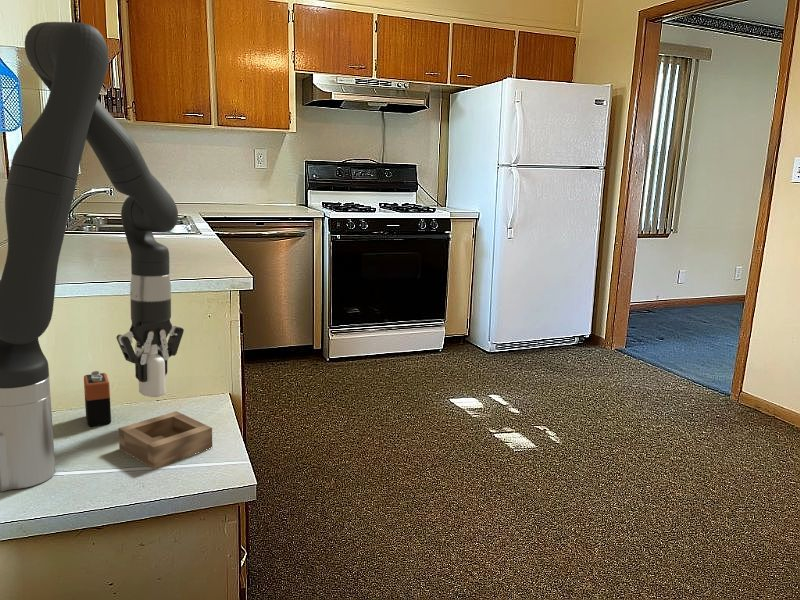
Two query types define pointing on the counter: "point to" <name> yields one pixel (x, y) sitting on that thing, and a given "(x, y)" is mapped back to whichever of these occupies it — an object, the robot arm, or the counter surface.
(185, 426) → the walnut open box
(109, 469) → the counter surface
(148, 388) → the eye dropper bottle
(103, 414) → the battery
